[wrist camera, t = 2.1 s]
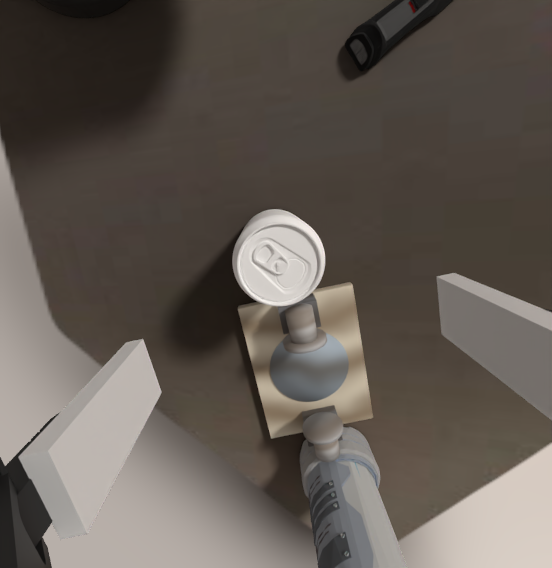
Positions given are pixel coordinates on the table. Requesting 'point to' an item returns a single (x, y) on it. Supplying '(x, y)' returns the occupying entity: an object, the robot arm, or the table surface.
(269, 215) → the beverage can
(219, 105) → the table surface
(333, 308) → the cradle
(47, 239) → the table surface
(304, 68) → the table surface
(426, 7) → the electric trimmer
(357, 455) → the canister
